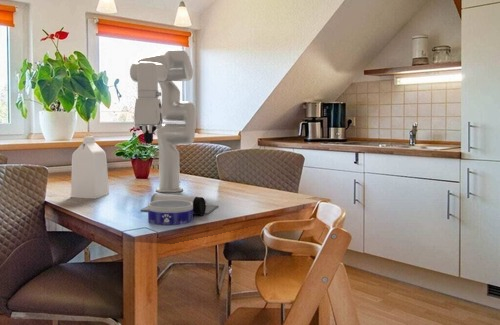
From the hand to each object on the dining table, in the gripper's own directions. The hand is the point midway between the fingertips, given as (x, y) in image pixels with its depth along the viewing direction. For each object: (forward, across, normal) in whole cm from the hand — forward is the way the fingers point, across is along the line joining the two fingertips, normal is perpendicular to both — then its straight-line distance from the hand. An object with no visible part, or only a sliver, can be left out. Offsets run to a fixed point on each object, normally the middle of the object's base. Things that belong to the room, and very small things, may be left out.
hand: (148, 143), depth 182 cm
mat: (+25, -13, +2) cm, 28 cm away
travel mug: (+21, -5, +9) cm, 23 cm away
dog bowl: (+25, -16, +21) cm, 36 cm away
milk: (+26, +34, -18) cm, 47 cm away
